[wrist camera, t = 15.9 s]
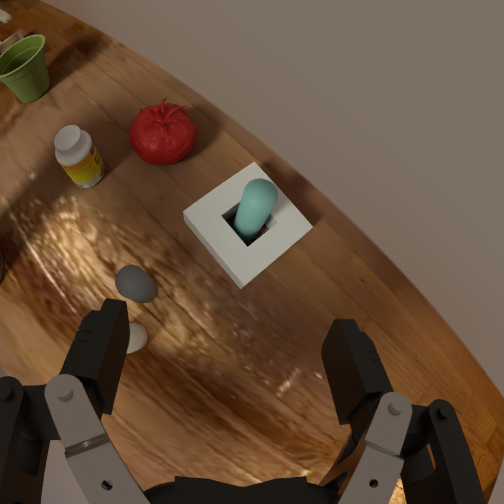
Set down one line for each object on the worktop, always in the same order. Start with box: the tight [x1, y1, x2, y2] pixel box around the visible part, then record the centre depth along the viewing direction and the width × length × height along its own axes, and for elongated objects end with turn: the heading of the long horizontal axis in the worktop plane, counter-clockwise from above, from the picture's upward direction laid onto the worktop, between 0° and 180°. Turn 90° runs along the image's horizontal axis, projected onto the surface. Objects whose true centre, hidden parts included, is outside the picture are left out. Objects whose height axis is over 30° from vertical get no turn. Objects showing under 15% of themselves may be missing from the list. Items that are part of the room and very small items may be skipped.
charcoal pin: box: [115, 265, 158, 303], centre depth 34 cm, size 4×4×8 cm
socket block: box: [183, 162, 313, 289], centre depth 40 cm, size 12×12×4 cm
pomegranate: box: [129, 97, 198, 165], centre depth 39 cm, size 10×10×9 cm
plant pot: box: [0, 35, 50, 103], centre depth 37 cm, size 12×12×11 cm
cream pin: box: [126, 323, 148, 354], centre depth 34 cm, size 4×4×5 cm
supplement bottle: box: [54, 125, 105, 188], centre depth 36 cm, size 6×6×10 cm
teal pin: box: [232, 178, 278, 242], centre depth 37 cm, size 4×4×12 cm
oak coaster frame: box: [0, 30, 24, 88], centre depth 41 cm, size 16×18×4 cm
